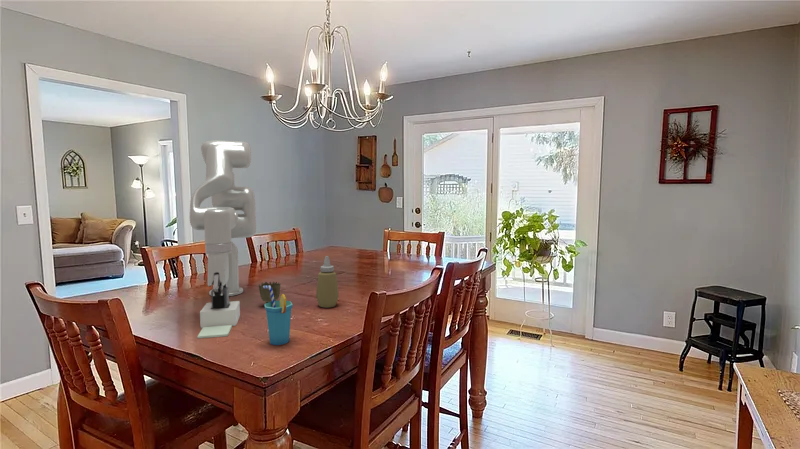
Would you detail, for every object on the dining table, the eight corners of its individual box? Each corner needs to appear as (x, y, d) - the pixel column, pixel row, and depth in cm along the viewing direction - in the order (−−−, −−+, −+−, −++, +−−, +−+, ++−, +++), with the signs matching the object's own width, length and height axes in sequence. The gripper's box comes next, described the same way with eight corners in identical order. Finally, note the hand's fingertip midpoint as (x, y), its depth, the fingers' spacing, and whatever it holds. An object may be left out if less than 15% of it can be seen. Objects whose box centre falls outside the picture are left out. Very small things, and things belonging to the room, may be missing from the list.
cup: (252, 337, 118) (251, 285, 116) (277, 331, 123) (276, 281, 122) (277, 351, 108) (276, 295, 106) (303, 343, 113) (302, 289, 112)
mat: (203, 329, 125) (203, 327, 125) (231, 326, 127) (231, 325, 126) (197, 338, 117) (197, 336, 117) (227, 336, 119) (227, 334, 119)
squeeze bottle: (311, 305, 149) (310, 256, 147) (329, 301, 155) (329, 253, 153) (325, 310, 144) (324, 259, 142) (343, 305, 150) (343, 256, 148)
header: (207, 317, 135) (206, 302, 135) (240, 315, 137) (239, 300, 137) (200, 328, 125) (199, 312, 125) (235, 325, 128) (235, 309, 127)
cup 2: (274, 309, 145) (274, 286, 144) (255, 307, 146) (254, 285, 146) (284, 303, 152) (284, 281, 151) (266, 302, 154) (265, 280, 153)
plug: (215, 318, 133) (213, 287, 132) (229, 317, 134) (228, 287, 133) (212, 322, 129) (211, 291, 128) (227, 321, 130) (226, 290, 129)
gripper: (210, 244, 137) (213, 298, 138) (199, 253, 120) (201, 314, 122) (235, 244, 138) (237, 297, 140) (227, 252, 122) (229, 312, 124)
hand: (220, 304), depth 131 cm, fingers open, 5 cm apart
